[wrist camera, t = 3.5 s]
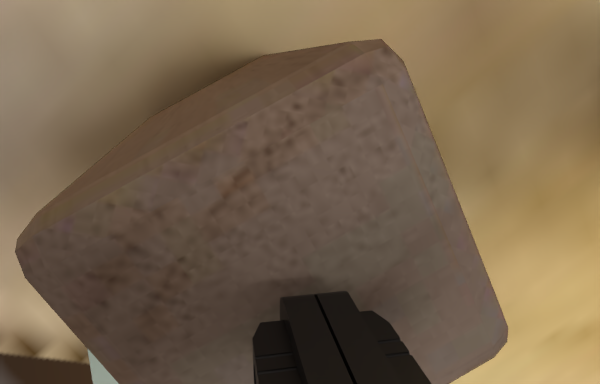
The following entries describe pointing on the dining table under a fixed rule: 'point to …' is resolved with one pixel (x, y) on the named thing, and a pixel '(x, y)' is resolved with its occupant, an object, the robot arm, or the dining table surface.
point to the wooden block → (267, 224)
